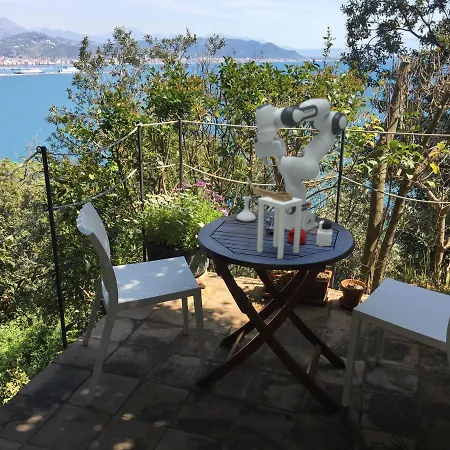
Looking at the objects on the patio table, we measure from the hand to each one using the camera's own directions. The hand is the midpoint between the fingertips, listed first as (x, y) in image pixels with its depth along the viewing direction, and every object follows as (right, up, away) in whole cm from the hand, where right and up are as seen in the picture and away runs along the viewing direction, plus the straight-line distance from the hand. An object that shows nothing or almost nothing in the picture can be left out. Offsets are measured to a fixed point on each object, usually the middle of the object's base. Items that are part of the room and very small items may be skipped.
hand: (272, 165), depth 227 cm
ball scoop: (-3, -17, -15) cm, 23 cm away
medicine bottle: (+26, -40, 0) cm, 47 cm away
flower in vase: (-11, -27, +40) cm, 50 cm away
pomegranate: (+12, -39, +2) cm, 41 cm away
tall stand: (+1, -43, -12) cm, 44 cm away
